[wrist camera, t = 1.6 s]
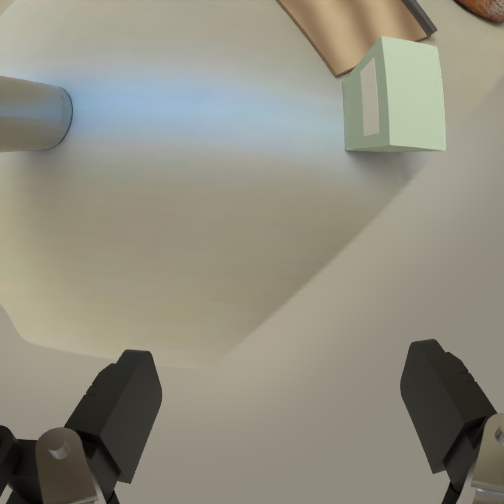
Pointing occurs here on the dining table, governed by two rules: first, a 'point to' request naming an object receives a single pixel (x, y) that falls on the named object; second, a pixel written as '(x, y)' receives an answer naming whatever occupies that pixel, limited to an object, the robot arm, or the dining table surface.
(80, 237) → the dining table surface
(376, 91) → the carton
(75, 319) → the dining table surface
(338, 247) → the dining table surface
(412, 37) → the tan flat piece
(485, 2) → the bread
